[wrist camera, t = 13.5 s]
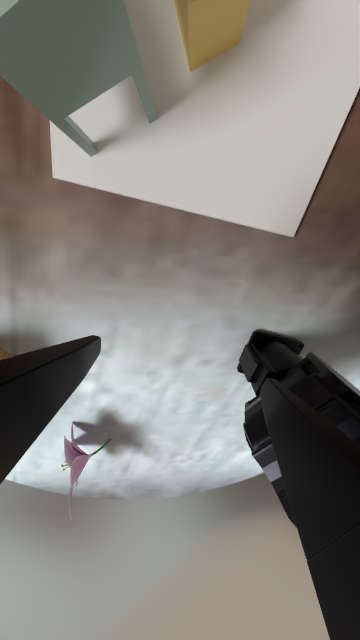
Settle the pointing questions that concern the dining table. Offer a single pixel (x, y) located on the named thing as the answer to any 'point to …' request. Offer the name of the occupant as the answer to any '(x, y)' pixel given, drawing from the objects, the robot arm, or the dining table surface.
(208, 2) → the plus sign cube
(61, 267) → the dining table surface
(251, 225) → the white rectangular sheet
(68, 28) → the green hollow square frame
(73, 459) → the lily
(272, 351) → the robot arm
